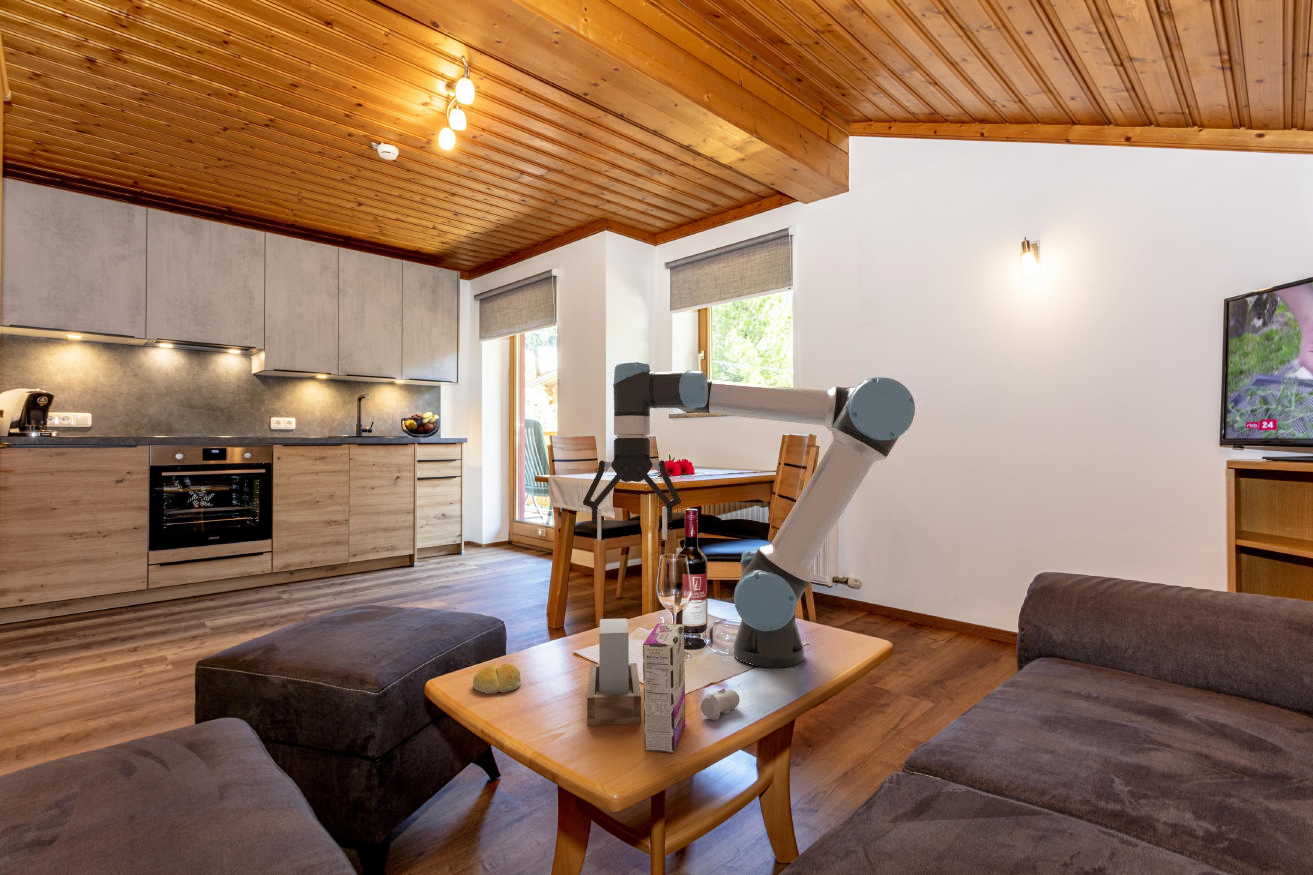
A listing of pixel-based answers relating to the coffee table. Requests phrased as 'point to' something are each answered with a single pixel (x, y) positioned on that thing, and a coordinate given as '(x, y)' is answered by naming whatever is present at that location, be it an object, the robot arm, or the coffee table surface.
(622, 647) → the grey box
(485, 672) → the bread roll
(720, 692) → the pale two-lobed sculpture
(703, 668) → the coffee table surface
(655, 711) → the candy bar box
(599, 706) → the open brown box
